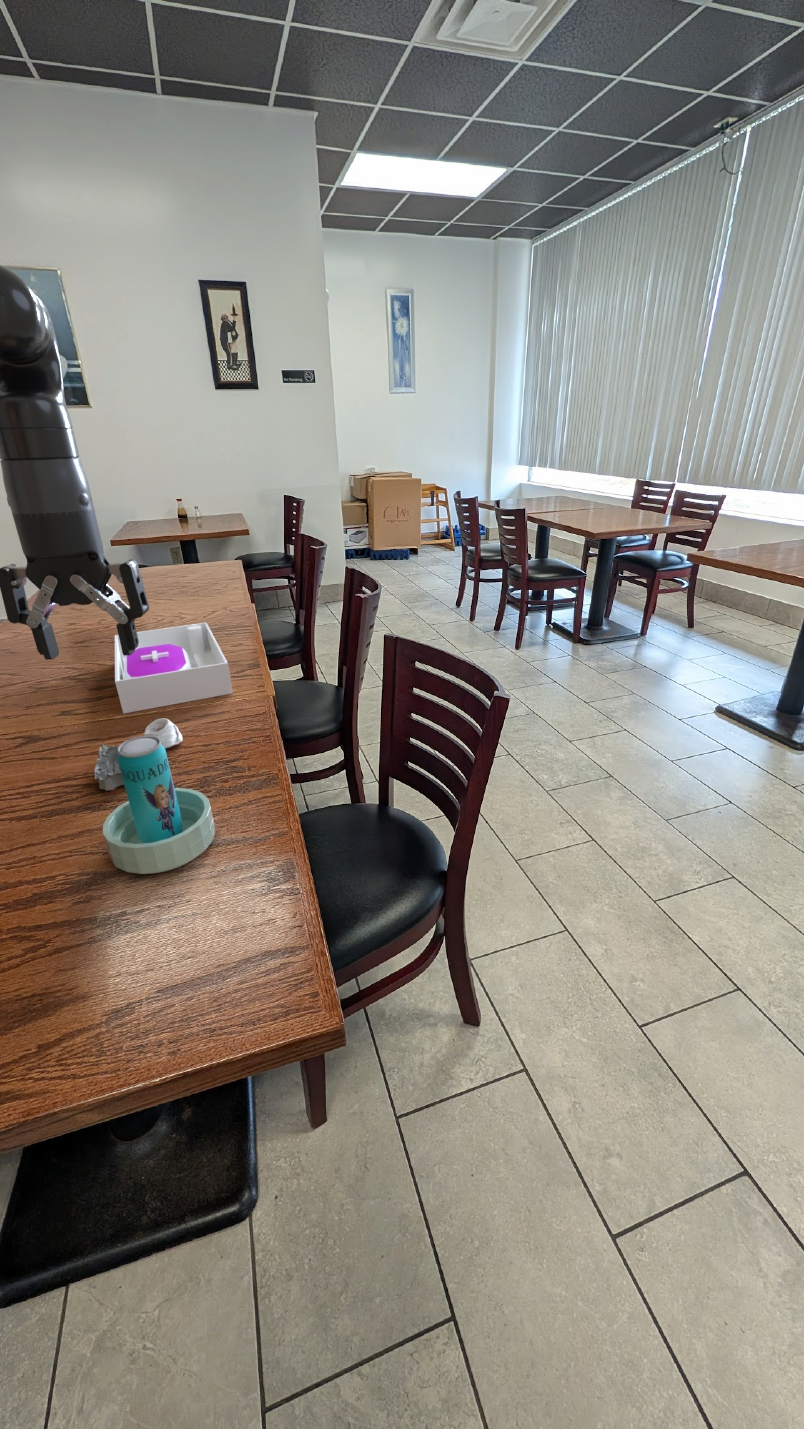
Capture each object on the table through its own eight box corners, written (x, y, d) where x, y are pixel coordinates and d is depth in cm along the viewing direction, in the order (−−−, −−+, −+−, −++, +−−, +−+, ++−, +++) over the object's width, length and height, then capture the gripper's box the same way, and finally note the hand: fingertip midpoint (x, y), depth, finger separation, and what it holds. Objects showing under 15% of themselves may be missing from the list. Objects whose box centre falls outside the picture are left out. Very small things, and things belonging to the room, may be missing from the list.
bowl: (96, 883, 74) (86, 851, 72) (130, 820, 87) (122, 791, 85) (205, 873, 76) (198, 842, 73) (223, 812, 88) (218, 784, 86)
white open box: (211, 647, 158) (206, 621, 155) (233, 693, 129) (227, 662, 126) (121, 661, 150) (114, 634, 147) (123, 713, 121) (114, 680, 118)
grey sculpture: (106, 762, 103) (100, 741, 101) (151, 755, 105) (146, 735, 103) (94, 794, 94) (87, 772, 92) (143, 786, 95) (138, 764, 93)
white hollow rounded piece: (188, 751, 107) (186, 728, 105) (149, 759, 104) (146, 735, 102) (177, 732, 113) (175, 709, 111) (140, 738, 110) (137, 715, 108)
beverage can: (161, 858, 77) (135, 759, 71) (132, 845, 80) (104, 749, 73) (194, 834, 82) (172, 739, 75) (165, 823, 84) (142, 730, 78)
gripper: (135, 501, 64) (163, 642, 71) (-1, 505, 63) (41, 648, 70) (111, 508, 58) (145, 663, 64) (-42, 512, 56) (9, 670, 63)
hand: (91, 655), depth 67 cm, fingers open, 8 cm apart
